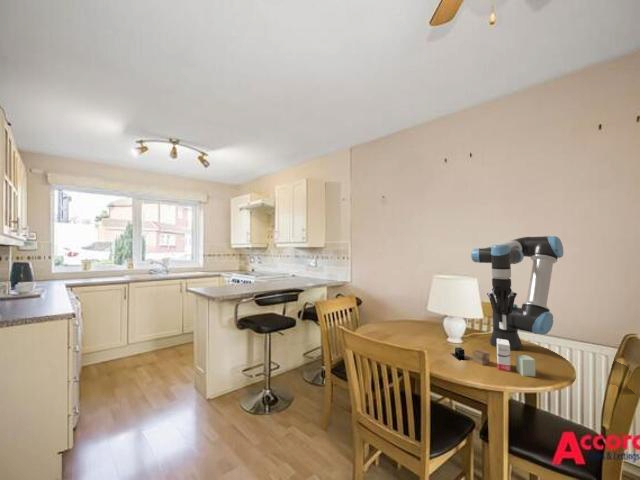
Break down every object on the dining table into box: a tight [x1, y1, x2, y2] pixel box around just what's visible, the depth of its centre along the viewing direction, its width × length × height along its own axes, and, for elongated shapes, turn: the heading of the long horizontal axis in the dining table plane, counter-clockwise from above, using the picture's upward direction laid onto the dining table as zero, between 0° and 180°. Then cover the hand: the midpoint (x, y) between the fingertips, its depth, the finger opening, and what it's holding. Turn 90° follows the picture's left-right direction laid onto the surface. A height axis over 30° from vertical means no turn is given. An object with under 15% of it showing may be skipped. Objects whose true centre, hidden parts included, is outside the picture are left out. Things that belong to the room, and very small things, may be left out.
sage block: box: [515, 354, 536, 377], centre depth 125 cm, size 5×5×7 cm
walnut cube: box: [472, 349, 491, 366], centre depth 138 cm, size 5×5×5 cm
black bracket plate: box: [450, 346, 470, 362], centre depth 145 cm, size 12×7×5 cm, turn 0°
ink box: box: [496, 339, 512, 372], centre depth 132 cm, size 8×5×12 cm, turn 152°
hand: (502, 328), depth 132 cm, fingers closed
